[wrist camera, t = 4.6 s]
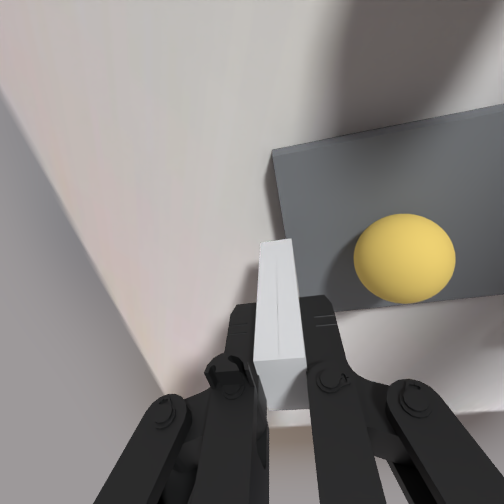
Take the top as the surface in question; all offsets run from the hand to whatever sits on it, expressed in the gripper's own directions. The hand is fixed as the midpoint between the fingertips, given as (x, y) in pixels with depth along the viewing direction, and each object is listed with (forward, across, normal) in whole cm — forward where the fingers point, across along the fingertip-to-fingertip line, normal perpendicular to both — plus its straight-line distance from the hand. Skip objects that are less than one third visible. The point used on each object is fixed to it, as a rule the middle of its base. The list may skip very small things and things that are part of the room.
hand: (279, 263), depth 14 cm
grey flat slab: (+3, +7, 0) cm, 8 cm away
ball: (-1, +5, 0) cm, 5 cm away
